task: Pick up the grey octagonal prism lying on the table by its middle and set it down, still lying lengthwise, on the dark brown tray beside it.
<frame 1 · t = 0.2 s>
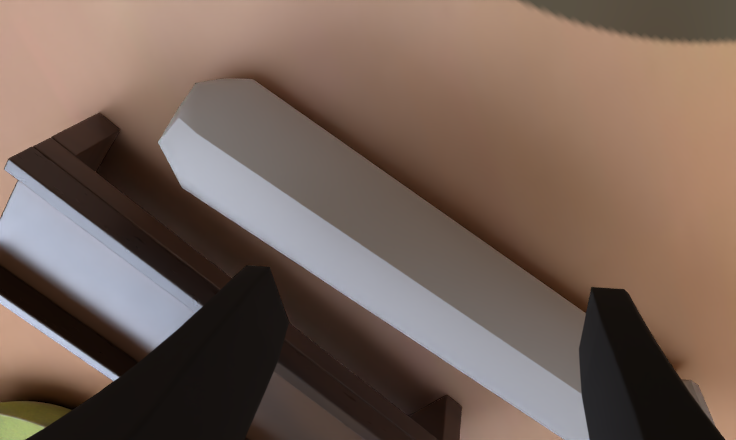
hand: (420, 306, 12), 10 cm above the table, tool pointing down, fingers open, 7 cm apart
dark brown tray: (254, 313, 28), on the table
grey octagonal prism: (441, 249, 23), on the table
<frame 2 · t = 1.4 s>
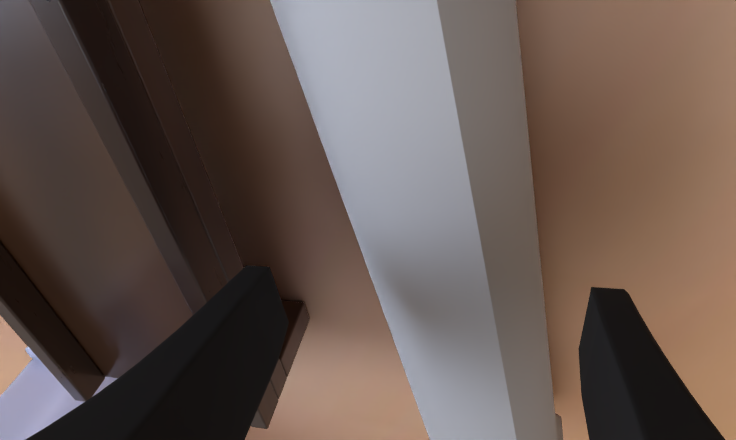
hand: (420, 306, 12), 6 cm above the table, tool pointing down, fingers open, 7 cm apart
dark brown tray: (107, 61, 16), on the table
grey octagonal prism: (452, 159, 16), on the table
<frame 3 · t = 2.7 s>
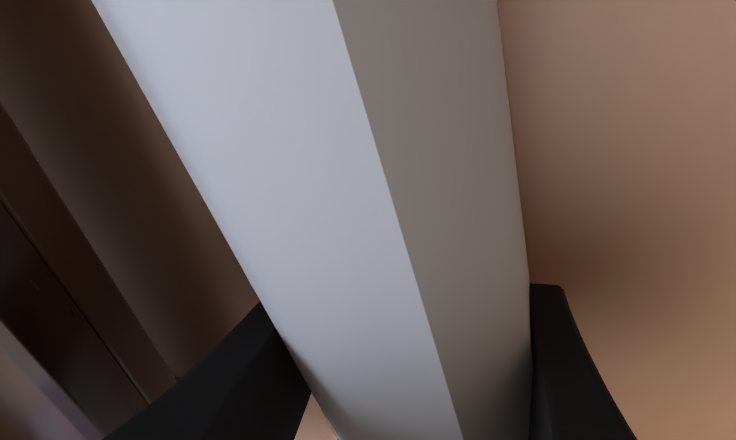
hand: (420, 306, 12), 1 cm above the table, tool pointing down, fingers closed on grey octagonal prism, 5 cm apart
dark brown tray: (6, 126, 13), on the table
grey octagonal prism: (431, 251, 13), on the table, touching gripper
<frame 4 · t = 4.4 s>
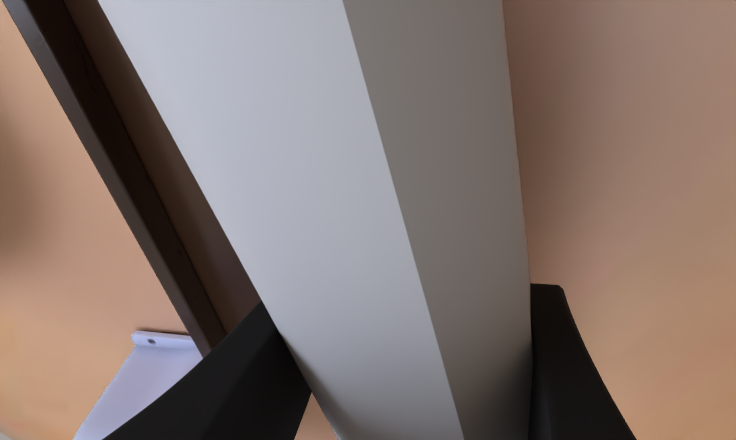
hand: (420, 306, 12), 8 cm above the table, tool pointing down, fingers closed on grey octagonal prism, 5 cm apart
dark brown tray: (276, 69, 18), on the table
grey octagonal prism: (432, 251, 13), point 7 cm above the table, touching gripper
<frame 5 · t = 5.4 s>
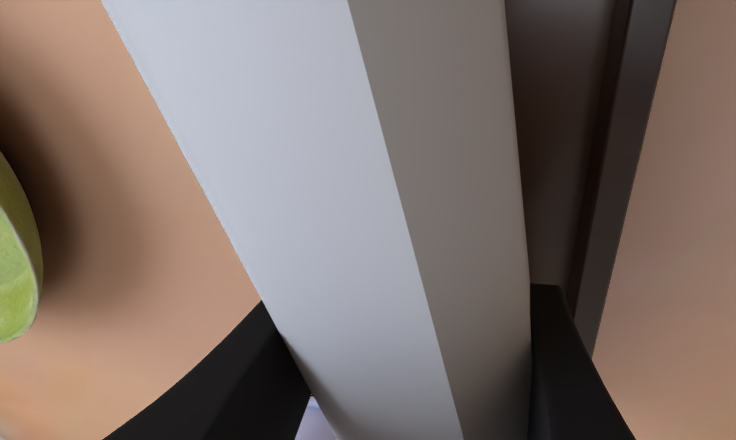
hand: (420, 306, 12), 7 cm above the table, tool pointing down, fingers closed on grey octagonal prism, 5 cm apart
dark brown tray: (449, 150, 17), on the table
grey octagonal prism: (431, 251, 13), point 5 cm above the table, touching gripper
when the fingers open (6 cm above the table, at t = 6.1 s): grey octagonal prism stays where it is, resting on dark brown tray.
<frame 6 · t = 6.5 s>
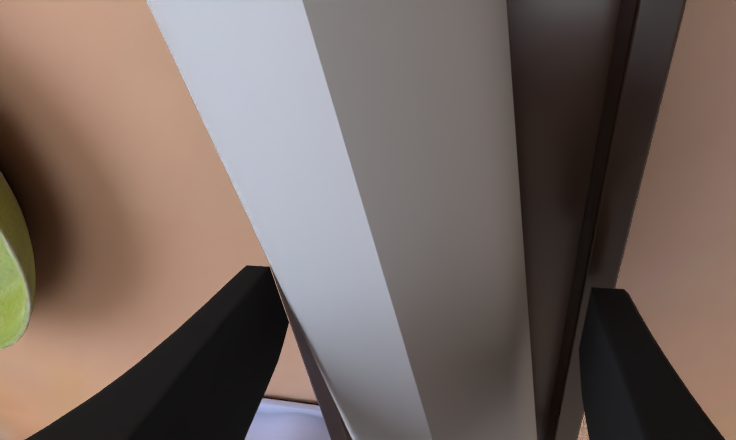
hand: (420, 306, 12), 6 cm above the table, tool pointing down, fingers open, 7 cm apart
dark brown tray: (447, 157, 16), on the table
grey octagonal prism: (444, 234, 13), point 4 cm above the table, touching dark brown tray
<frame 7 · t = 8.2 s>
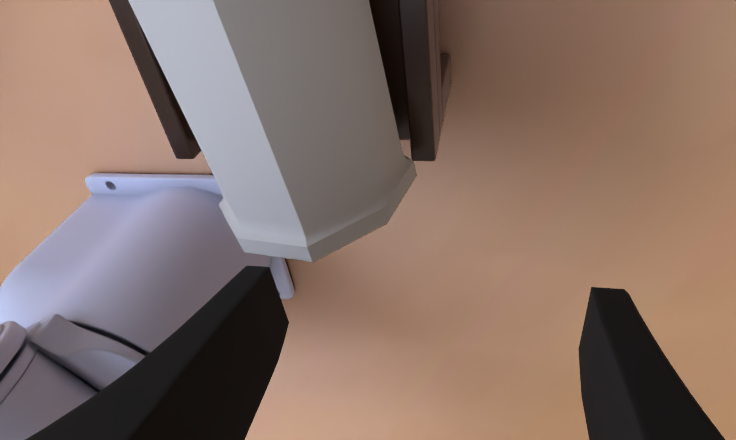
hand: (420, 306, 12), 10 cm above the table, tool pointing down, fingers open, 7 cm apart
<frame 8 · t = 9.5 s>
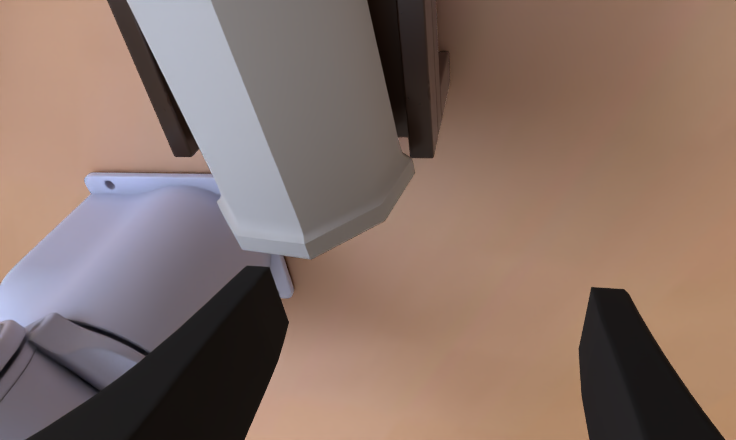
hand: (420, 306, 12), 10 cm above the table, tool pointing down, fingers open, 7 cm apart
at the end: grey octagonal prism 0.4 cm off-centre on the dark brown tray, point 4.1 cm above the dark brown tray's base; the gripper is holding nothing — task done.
